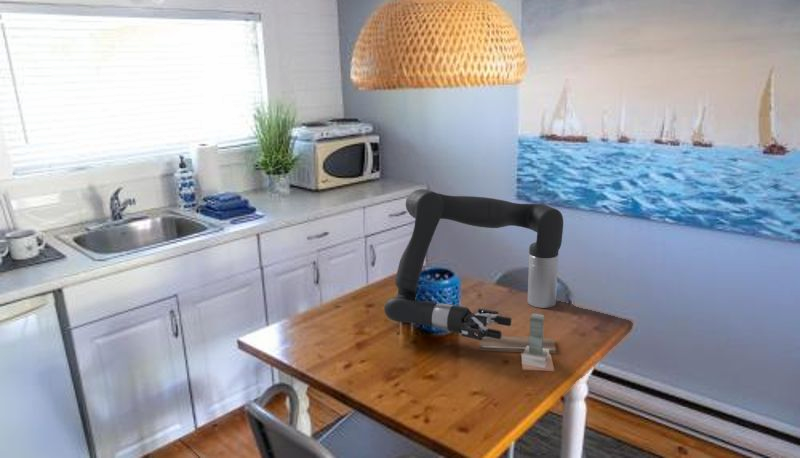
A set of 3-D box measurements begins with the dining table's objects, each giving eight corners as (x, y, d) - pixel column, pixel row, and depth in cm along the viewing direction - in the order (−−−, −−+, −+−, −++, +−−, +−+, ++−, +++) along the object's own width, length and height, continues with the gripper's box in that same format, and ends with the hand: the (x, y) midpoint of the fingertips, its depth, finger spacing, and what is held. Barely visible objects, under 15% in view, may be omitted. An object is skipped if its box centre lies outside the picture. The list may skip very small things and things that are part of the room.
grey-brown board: (479, 338, 167) (479, 335, 166) (552, 341, 164) (552, 338, 163) (479, 350, 160) (479, 347, 160) (555, 353, 157) (555, 350, 157)
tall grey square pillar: (526, 353, 156) (528, 310, 153) (548, 357, 154) (550, 313, 150) (521, 363, 151) (523, 319, 148) (544, 368, 149) (546, 323, 145)
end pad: (520, 354, 157) (520, 353, 157) (550, 355, 156) (550, 354, 156) (522, 369, 149) (522, 368, 149) (553, 371, 148) (554, 369, 148)
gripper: (440, 315, 155) (498, 326, 147) (460, 296, 167) (514, 306, 159) (441, 340, 157) (497, 352, 149) (460, 320, 169) (513, 330, 161)
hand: (506, 328), depth 154 cm, fingers open, 8 cm apart
